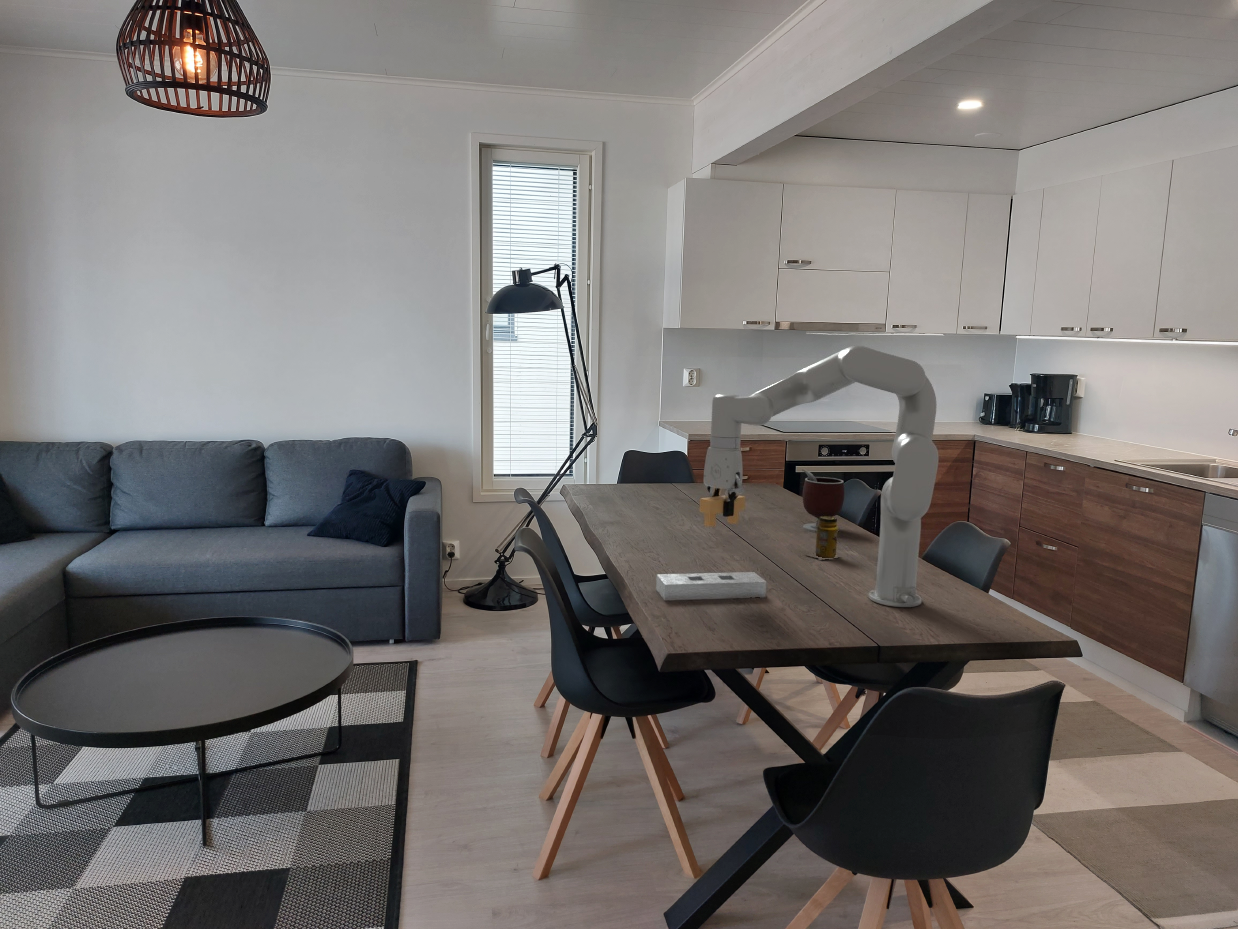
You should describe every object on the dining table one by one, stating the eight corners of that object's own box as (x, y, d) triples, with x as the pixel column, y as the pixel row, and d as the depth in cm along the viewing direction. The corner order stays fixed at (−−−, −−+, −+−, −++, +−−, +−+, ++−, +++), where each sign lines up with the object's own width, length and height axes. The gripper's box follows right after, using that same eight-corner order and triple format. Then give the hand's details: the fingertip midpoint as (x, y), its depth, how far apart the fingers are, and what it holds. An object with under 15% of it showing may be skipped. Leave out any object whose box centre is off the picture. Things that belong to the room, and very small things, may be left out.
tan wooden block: (743, 523, 220) (745, 496, 219) (709, 528, 213) (710, 501, 212) (733, 520, 223) (734, 494, 222) (698, 525, 216) (699, 498, 215)
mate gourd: (849, 529, 294) (853, 472, 291) (829, 535, 284) (833, 476, 281) (809, 522, 304) (812, 466, 301) (788, 527, 294) (792, 470, 291)
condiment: (842, 558, 254) (844, 518, 253) (822, 561, 250) (824, 521, 248) (823, 552, 260) (826, 514, 259) (804, 555, 256) (806, 516, 254)
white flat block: (765, 597, 213) (766, 581, 212) (664, 600, 208) (665, 584, 207) (753, 586, 221) (754, 572, 221) (656, 589, 217) (656, 574, 216)
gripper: (692, 440, 219) (689, 510, 222) (737, 448, 206) (733, 522, 209) (714, 439, 224) (710, 507, 226) (759, 446, 210) (755, 519, 213)
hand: (721, 513), depth 217 cm, fingers closed on tan wooden block, 4 cm apart
